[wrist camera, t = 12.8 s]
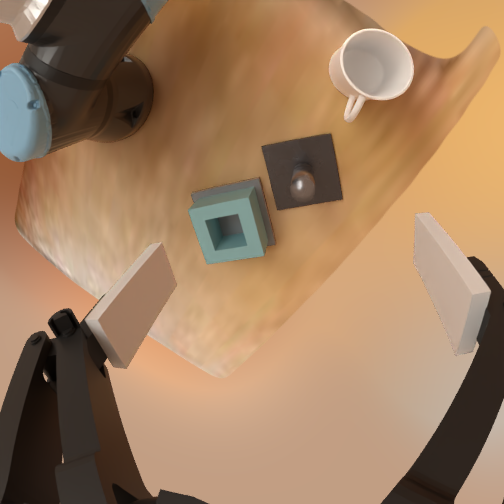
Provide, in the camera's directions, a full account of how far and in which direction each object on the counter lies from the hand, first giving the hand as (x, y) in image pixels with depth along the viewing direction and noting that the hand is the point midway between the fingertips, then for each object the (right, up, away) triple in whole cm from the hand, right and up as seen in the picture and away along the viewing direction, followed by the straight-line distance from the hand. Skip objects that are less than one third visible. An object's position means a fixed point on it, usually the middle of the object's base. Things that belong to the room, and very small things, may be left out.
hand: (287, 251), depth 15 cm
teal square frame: (-5, +5, +33) cm, 34 cm away
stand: (+6, +12, +29) cm, 32 cm away
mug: (+12, +24, +21) cm, 34 cm away
